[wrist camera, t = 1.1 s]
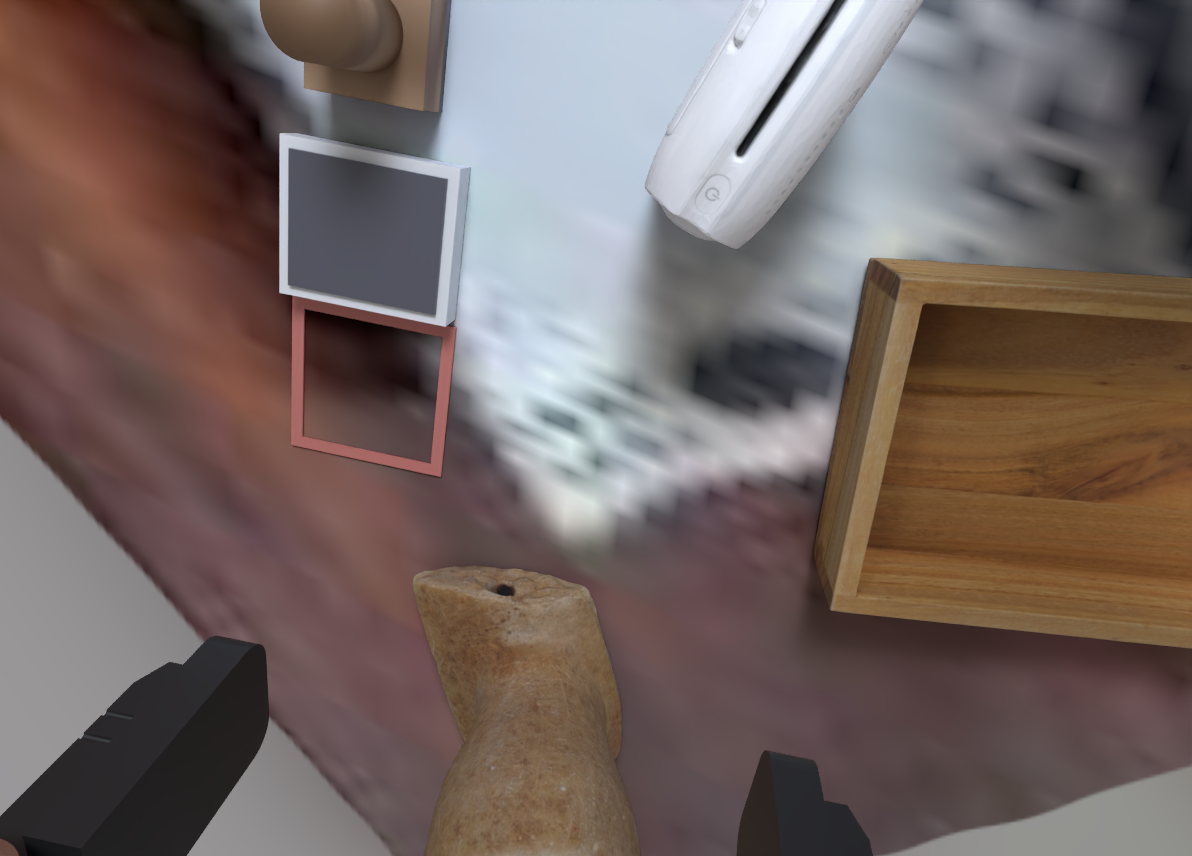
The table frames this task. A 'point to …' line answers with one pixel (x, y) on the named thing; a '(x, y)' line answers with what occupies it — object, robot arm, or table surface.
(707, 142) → the photo printer
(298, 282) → the ink pad
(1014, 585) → the tray
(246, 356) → the table surface
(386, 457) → the marked square
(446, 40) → the hand stamp
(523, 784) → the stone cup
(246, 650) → the robot arm
